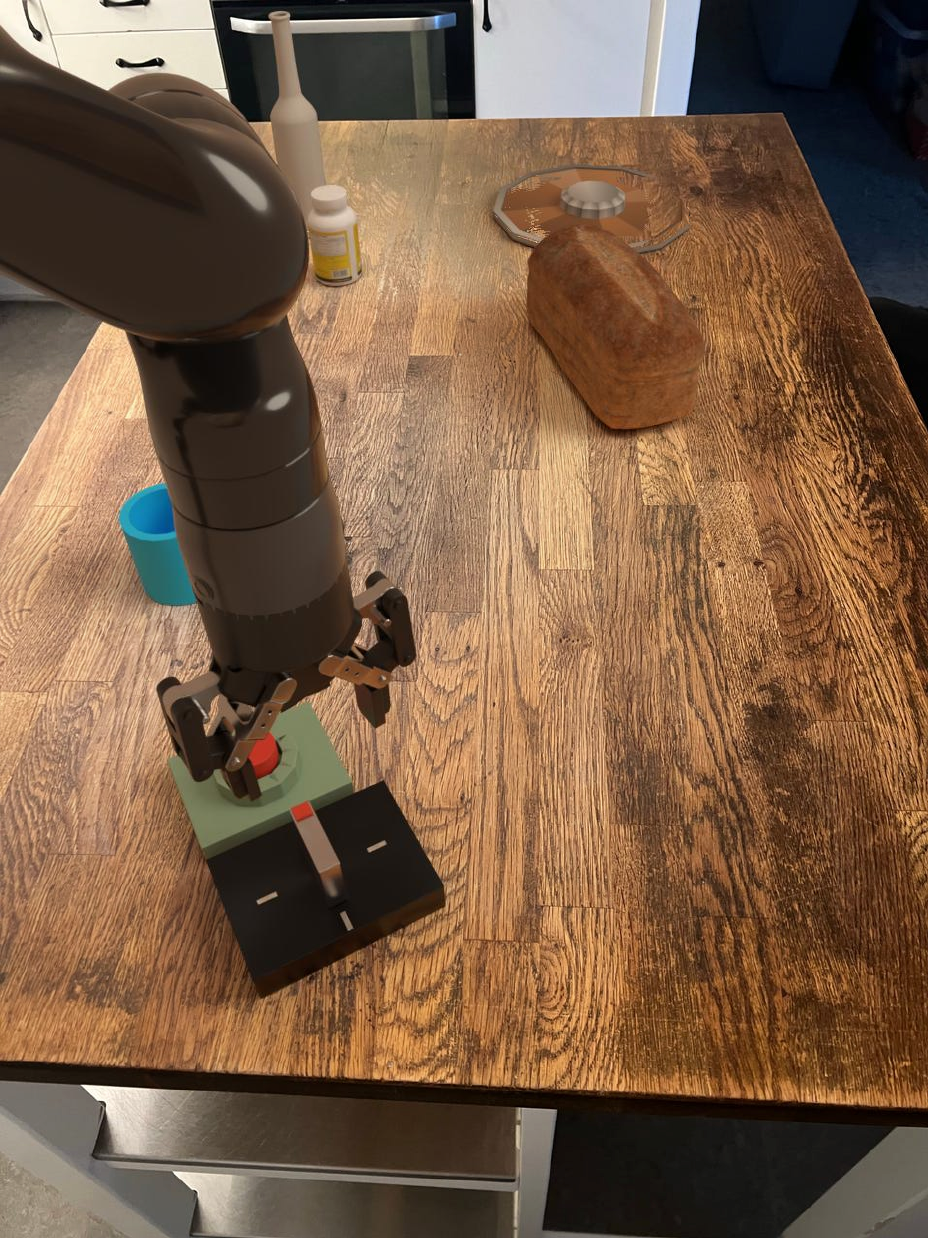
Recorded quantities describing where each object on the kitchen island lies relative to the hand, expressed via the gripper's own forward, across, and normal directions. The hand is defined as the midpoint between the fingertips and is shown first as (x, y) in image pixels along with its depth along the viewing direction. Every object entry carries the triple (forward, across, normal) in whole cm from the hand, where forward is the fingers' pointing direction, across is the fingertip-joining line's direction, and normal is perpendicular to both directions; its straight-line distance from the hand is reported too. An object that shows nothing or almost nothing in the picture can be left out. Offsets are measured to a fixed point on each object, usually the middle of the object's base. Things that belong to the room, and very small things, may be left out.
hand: (312, 752), depth 58 cm
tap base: (+17, +1, 0) cm, 17 cm away
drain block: (+17, 0, -11) cm, 20 cm away
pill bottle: (+17, -48, -79) cm, 94 cm away
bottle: (+17, -52, -94) cm, 109 cm away
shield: (+17, -88, -72) cm, 115 cm away
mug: (+17, -6, -36) cm, 40 cm away
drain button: (+13, 0, -11) cm, 17 cm away
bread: (+17, -61, -40) cm, 75 cm away
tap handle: (+14, +1, 0) cm, 14 cm away
